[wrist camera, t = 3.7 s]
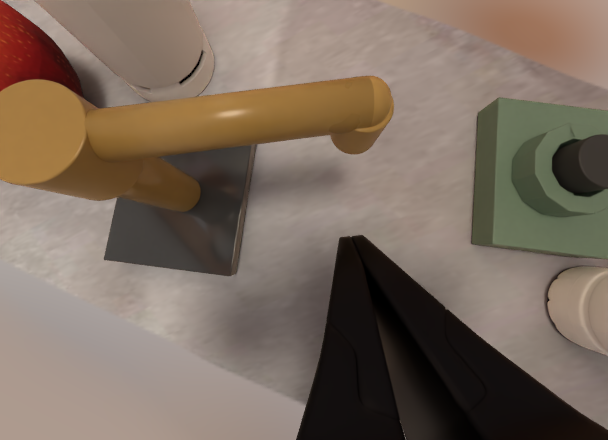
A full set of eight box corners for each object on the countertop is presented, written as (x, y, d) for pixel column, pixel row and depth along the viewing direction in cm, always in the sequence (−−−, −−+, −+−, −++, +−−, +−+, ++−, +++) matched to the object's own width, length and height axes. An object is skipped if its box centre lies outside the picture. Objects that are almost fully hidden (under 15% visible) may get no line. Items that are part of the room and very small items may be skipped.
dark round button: (599, 196, 16) (636, 191, 14) (549, 190, 16) (579, 184, 14) (599, 148, 16) (634, 137, 15) (549, 142, 16) (579, 130, 15)
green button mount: (576, 257, 19) (648, 261, 15) (471, 244, 19) (515, 244, 15) (576, 124, 20) (643, 95, 16) (477, 112, 20) (520, 80, 16)
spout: (72, 207, 11) (-28, 191, 8) (70, 131, 12) (-26, 85, 8) (382, 166, 11) (415, 135, 8) (369, 94, 12) (396, 35, 8)
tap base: (236, 273, 19) (183, 298, 10) (118, 258, 19) (-27, 270, 11) (257, 138, 20) (224, 63, 12) (147, 124, 20) (36, 40, 12)
